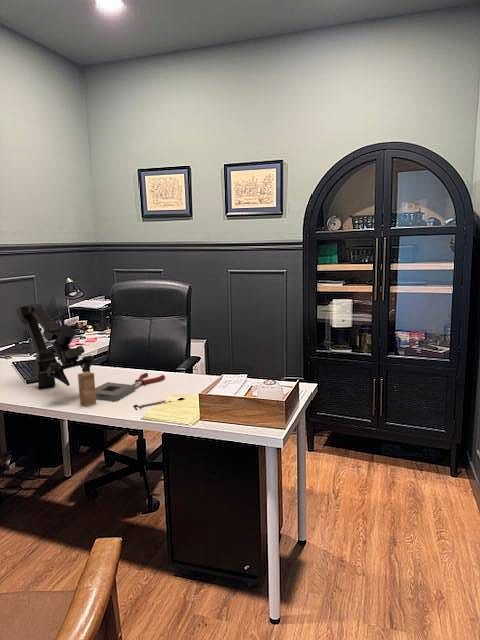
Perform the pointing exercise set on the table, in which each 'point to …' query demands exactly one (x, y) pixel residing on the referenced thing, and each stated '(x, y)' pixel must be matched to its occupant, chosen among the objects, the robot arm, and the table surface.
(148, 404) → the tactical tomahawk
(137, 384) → the pliers
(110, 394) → the post plate
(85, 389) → the walnut peg
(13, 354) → the table surface
